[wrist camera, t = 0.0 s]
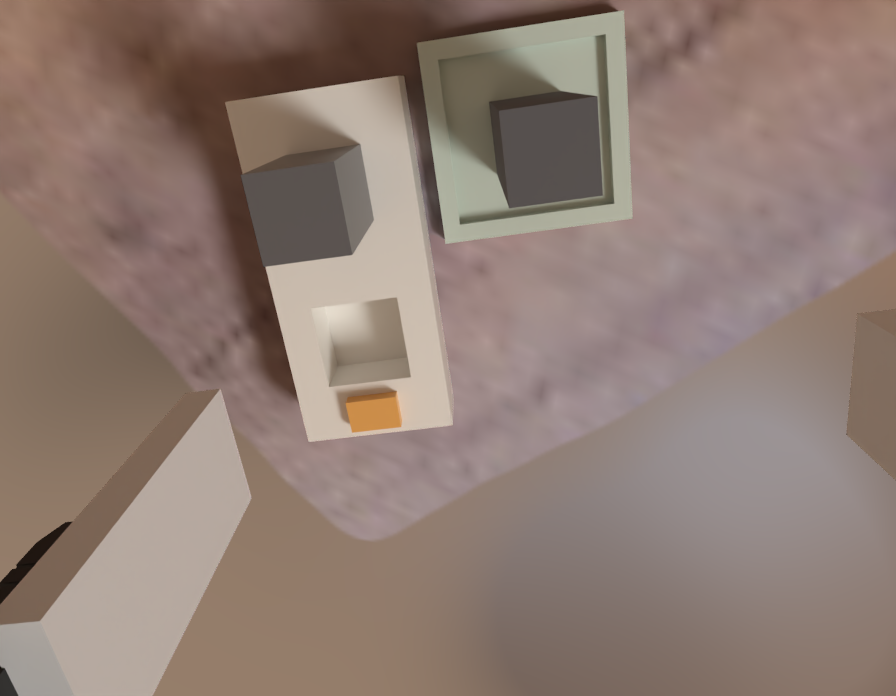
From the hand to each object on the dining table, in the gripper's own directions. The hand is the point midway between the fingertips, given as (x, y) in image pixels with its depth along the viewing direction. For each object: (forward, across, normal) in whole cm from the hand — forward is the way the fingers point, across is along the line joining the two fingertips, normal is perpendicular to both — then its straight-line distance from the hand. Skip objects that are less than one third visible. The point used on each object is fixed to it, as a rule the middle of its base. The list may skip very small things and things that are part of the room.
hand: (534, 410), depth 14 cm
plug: (+28, +3, +3) cm, 28 cm away
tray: (+28, +3, +3) cm, 28 cm away
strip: (+28, -8, -3) cm, 29 cm away
